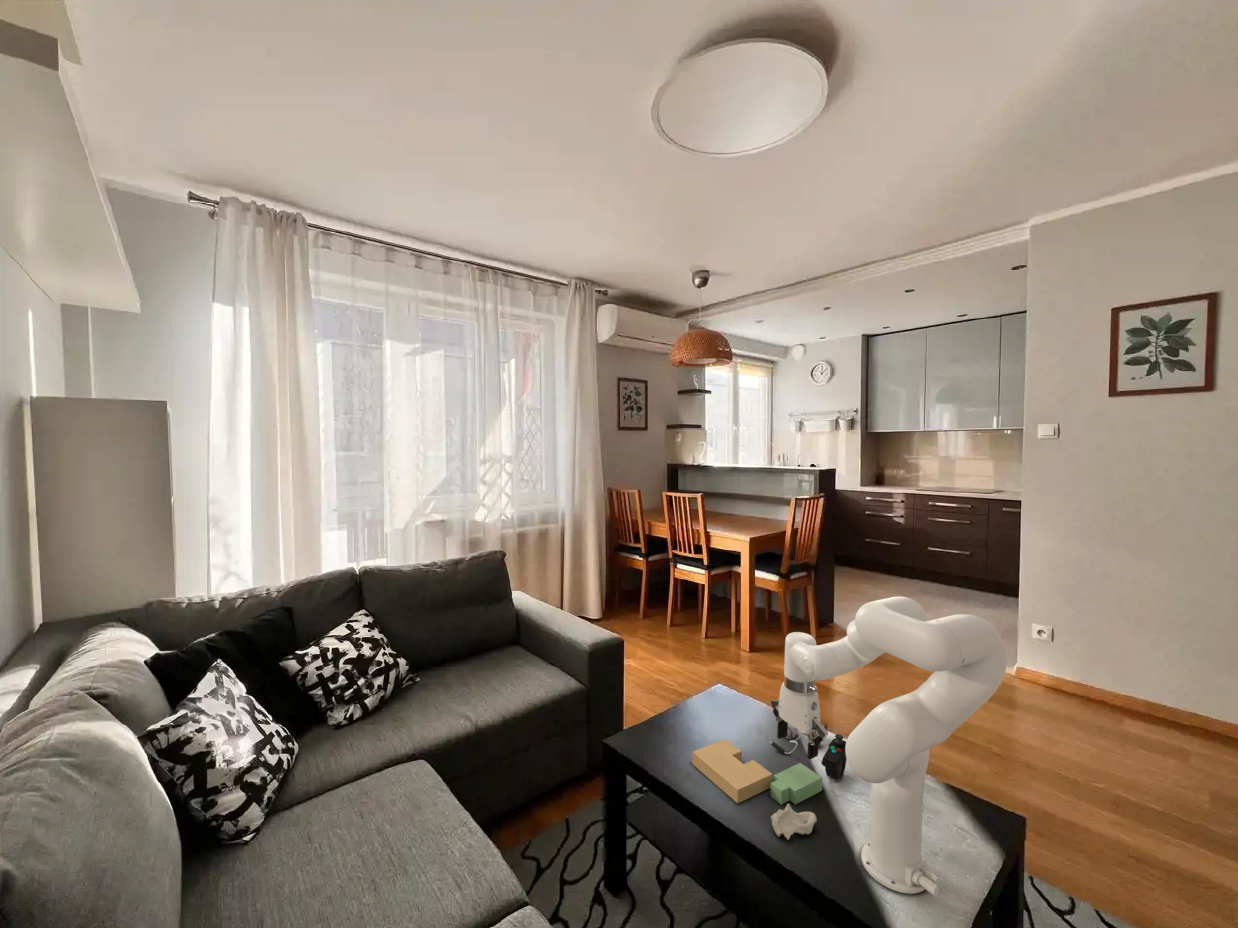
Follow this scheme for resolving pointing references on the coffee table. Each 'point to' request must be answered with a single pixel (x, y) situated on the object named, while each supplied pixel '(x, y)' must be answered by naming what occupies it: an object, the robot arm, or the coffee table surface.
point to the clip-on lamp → (791, 733)
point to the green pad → (795, 784)
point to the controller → (835, 758)
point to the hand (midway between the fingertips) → (796, 746)
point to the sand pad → (731, 770)
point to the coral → (792, 822)
